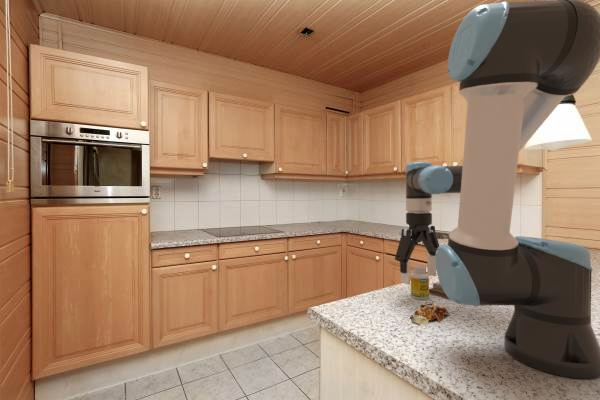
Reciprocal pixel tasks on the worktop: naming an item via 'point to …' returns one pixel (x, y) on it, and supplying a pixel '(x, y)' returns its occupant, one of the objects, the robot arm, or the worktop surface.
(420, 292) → the supplement bottle
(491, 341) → the worktop surface
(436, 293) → the socket board
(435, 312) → the brown lumpy food piece
